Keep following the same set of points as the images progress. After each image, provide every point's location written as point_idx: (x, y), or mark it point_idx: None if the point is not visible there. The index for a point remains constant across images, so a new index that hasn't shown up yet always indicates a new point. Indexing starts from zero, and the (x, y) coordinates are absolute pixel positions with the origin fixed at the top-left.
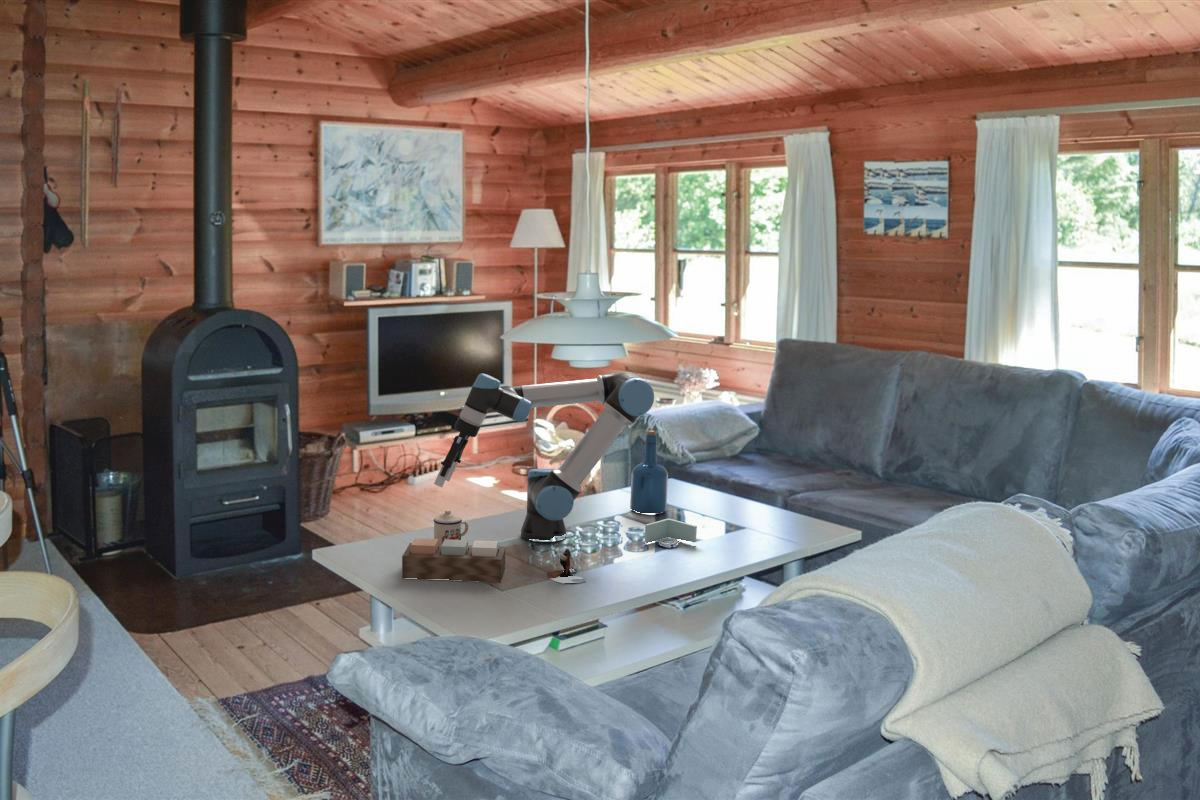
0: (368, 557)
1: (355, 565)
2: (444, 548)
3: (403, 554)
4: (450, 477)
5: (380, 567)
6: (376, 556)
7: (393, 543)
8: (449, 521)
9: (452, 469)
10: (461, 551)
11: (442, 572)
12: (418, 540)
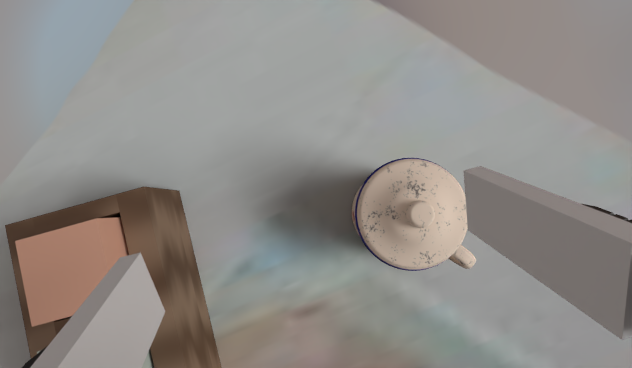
0: (203, 56)
1: (129, 58)
2: None
3: (20, 222)
4: (489, 243)
5: (136, 126)
6: (219, 72)
7: (348, 58)
8: (368, 240)
9: (543, 267)
10: None
11: None
12: (74, 242)
